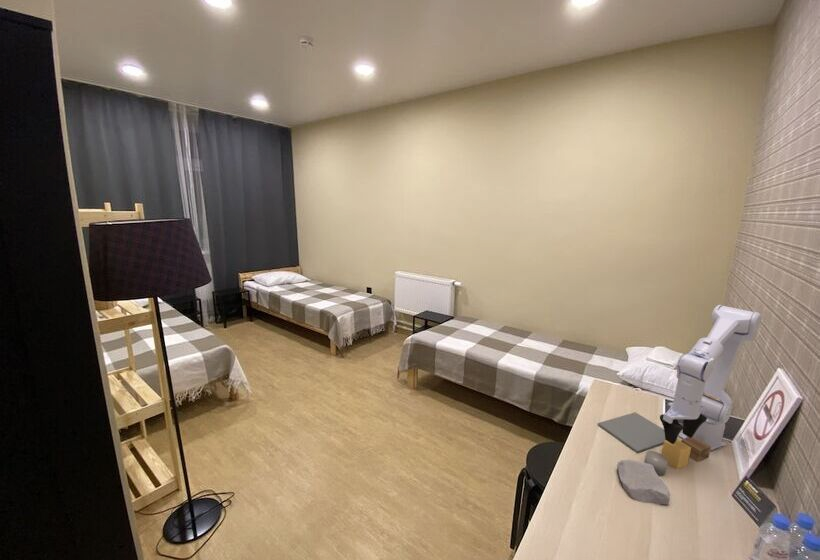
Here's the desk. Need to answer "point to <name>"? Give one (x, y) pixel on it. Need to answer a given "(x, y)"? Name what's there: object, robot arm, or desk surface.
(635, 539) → the desk surface
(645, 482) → the stone block
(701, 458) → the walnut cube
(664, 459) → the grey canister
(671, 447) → the ochre block
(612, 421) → the slate mat
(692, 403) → the robot arm
